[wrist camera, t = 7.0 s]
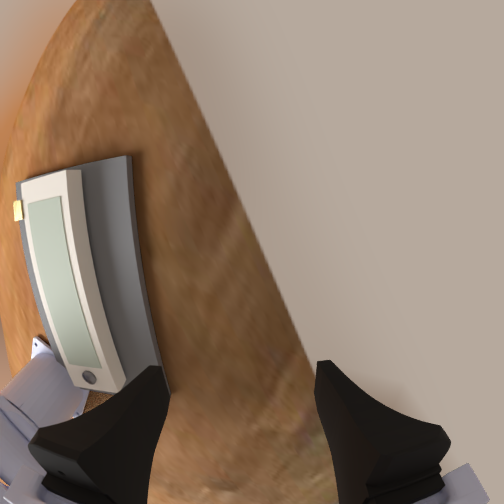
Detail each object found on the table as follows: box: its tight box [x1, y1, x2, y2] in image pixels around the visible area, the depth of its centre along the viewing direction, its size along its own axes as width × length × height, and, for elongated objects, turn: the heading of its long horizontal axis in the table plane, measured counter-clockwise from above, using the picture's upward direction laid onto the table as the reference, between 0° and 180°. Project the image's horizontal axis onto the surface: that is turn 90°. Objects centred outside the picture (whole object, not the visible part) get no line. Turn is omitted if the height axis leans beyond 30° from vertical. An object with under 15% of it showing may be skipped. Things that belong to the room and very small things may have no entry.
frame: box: [21, 170, 126, 393], centre depth 18 cm, size 18×5×2 cm, turn 4°
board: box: [13, 156, 171, 396], centre depth 19 cm, size 21×12×4 cm, turn 3°
